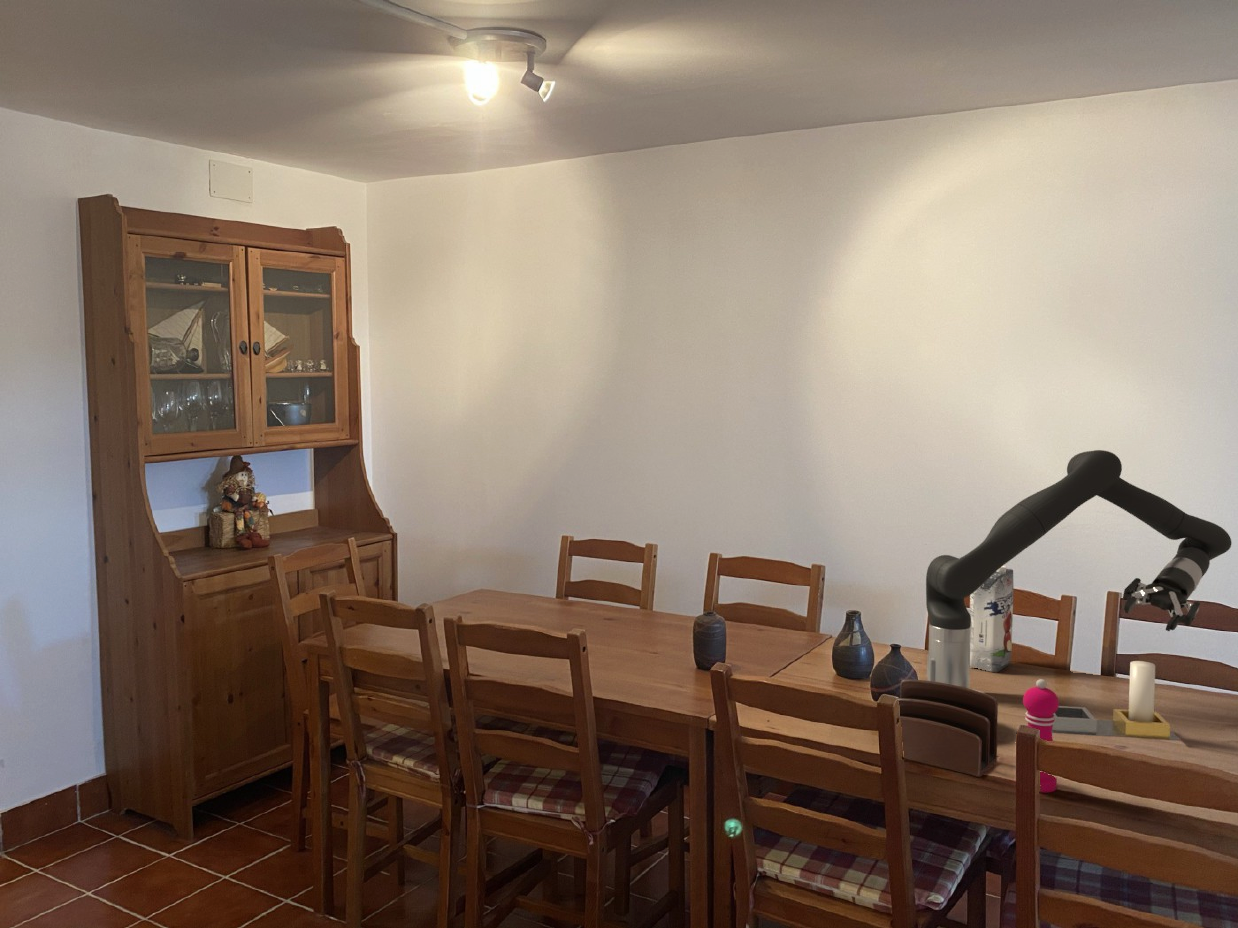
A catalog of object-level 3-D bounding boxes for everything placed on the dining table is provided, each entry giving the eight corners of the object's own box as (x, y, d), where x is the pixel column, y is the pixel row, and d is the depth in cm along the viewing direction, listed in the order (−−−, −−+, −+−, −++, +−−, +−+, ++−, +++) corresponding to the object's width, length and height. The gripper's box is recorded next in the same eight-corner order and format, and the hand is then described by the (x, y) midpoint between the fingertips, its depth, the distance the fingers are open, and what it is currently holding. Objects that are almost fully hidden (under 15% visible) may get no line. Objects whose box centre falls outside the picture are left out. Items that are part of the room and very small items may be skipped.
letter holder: (900, 739, 204) (901, 673, 203) (997, 762, 191) (999, 692, 190) (880, 753, 196) (881, 685, 195) (980, 778, 184) (982, 705, 183)
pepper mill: (1009, 778, 183) (1012, 674, 182) (1046, 777, 184) (1050, 672, 182) (1028, 794, 176) (1032, 686, 174) (1067, 793, 177) (1071, 684, 175)
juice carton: (964, 668, 253) (967, 565, 251) (979, 659, 261) (982, 559, 259) (999, 674, 248) (1002, 569, 245) (1014, 665, 256) (1017, 563, 253)
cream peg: (1132, 732, 204) (1134, 666, 202) (1125, 724, 208) (1127, 660, 207) (1156, 733, 203) (1158, 667, 202) (1148, 726, 207) (1150, 661, 206)
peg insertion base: (1044, 737, 204) (1045, 718, 204) (1033, 721, 214) (1034, 703, 214) (1180, 745, 199) (1181, 726, 199) (1162, 728, 209) (1163, 710, 209)
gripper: (1147, 555, 223) (1116, 592, 214) (1215, 580, 214) (1186, 620, 205) (1141, 580, 227) (1110, 617, 219) (1207, 606, 218) (1178, 646, 209)
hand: (1147, 619), depth 212 cm, fingers open, 8 cm apart
